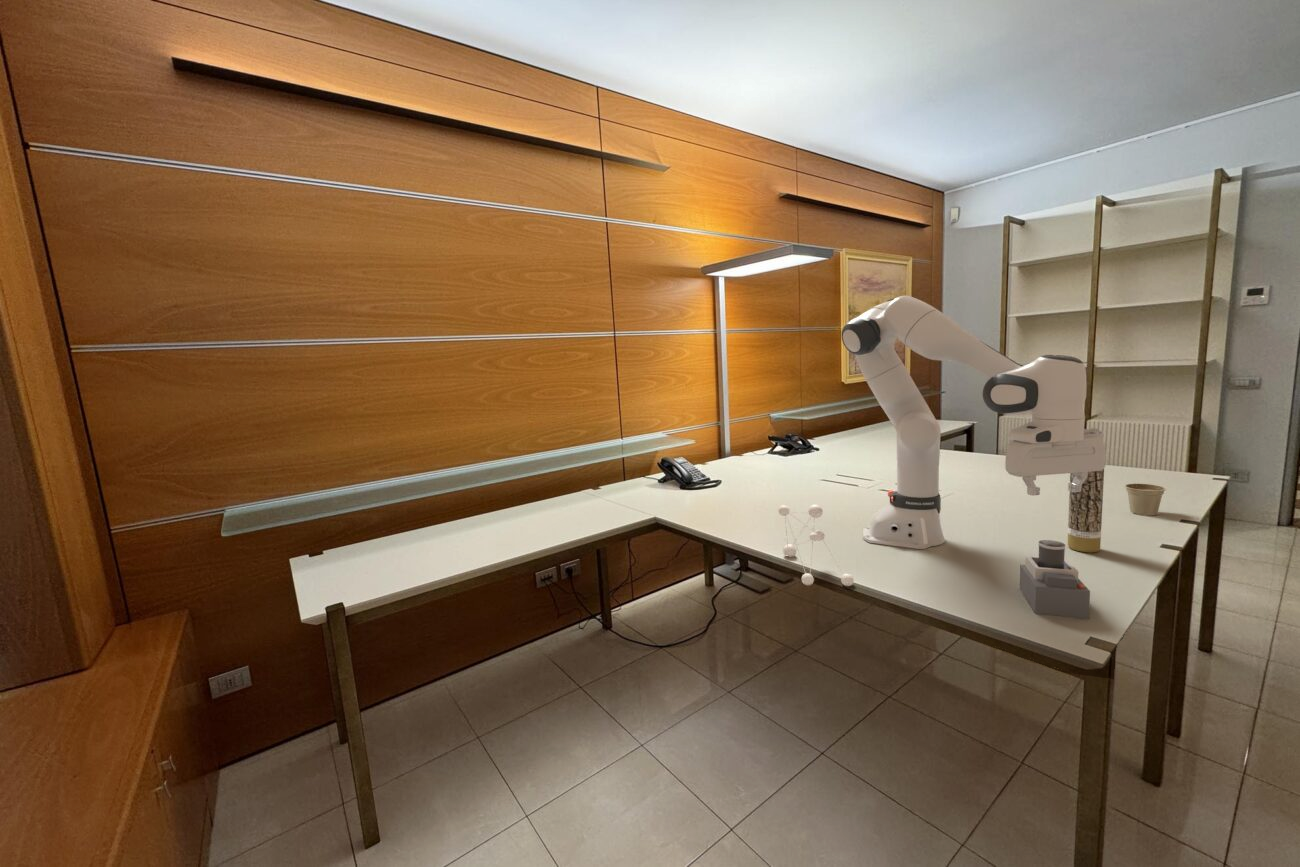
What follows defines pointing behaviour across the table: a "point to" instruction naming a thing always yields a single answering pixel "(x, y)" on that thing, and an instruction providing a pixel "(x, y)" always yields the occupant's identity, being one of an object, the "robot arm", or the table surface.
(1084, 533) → the paper tube
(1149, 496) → the flower pot
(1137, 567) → the table surface
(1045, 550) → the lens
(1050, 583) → the desk organizer caddy
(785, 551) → the molecule model
